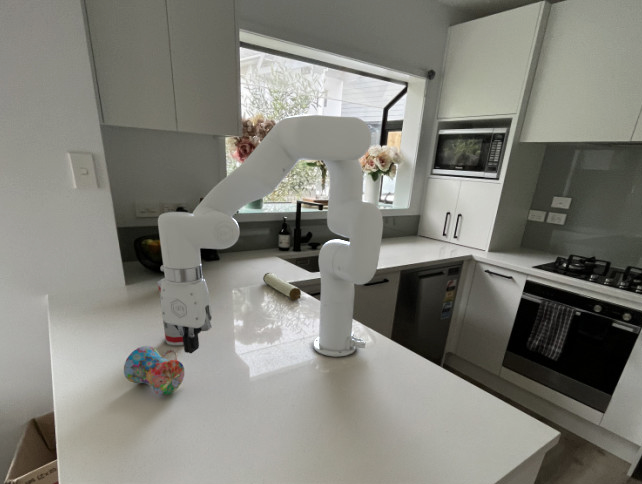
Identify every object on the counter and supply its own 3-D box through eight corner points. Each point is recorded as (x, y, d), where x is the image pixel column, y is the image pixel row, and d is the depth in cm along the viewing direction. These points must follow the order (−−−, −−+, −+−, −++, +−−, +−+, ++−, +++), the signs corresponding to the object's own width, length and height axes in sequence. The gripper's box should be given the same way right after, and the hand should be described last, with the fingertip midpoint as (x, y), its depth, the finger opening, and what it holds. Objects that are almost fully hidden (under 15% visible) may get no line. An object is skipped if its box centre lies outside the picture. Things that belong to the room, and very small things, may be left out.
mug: (148, 375, 79) (118, 359, 84) (160, 406, 84) (130, 390, 89) (192, 345, 88) (161, 332, 92) (200, 375, 93) (171, 362, 98)
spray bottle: (164, 346, 109) (152, 261, 99) (167, 335, 115) (156, 255, 106) (193, 344, 111) (184, 260, 101) (193, 333, 117) (185, 254, 108)
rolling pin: (259, 282, 170) (259, 271, 168) (271, 280, 172) (270, 269, 170) (293, 304, 145) (293, 291, 143) (306, 302, 147) (306, 289, 146)
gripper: (141, 273, 78) (153, 352, 85) (204, 282, 74) (211, 363, 82) (165, 265, 85) (174, 338, 92) (224, 272, 81) (229, 348, 88)
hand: (191, 350), depth 87 cm, fingers closed
